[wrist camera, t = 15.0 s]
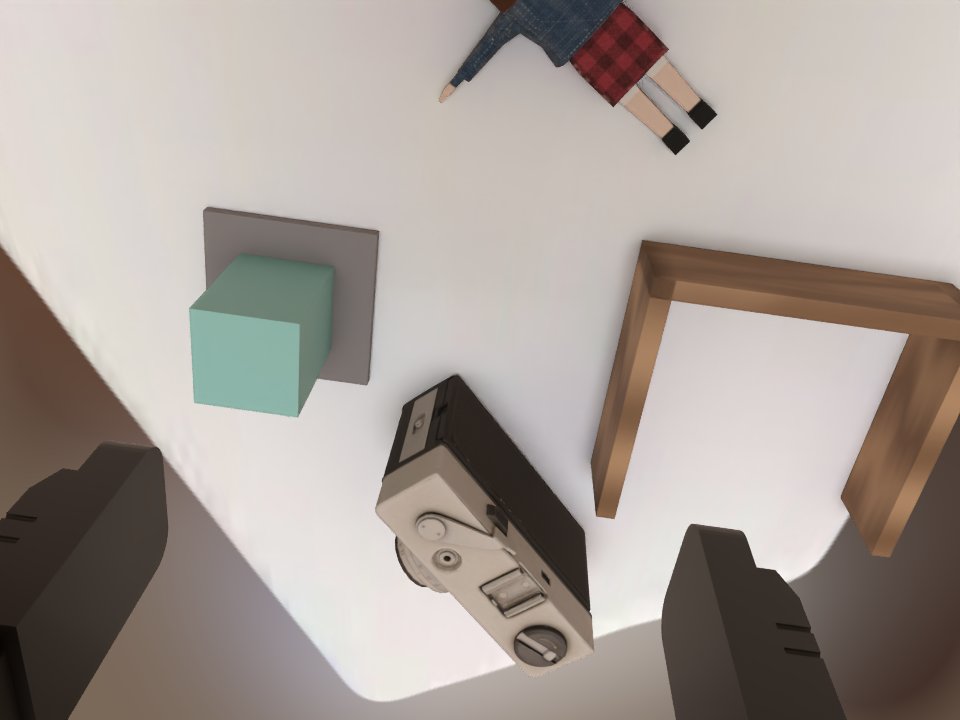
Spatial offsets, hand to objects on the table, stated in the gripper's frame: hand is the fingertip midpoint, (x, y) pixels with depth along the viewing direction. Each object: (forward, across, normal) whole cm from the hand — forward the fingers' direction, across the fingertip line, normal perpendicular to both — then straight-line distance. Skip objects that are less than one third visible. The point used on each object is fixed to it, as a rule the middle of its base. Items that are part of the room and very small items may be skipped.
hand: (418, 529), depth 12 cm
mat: (+30, +10, +11) cm, 34 cm away
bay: (+30, -16, +12) cm, 36 cm away
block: (+30, +10, +11) cm, 33 cm away
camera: (+30, -1, +22) cm, 37 cm away
